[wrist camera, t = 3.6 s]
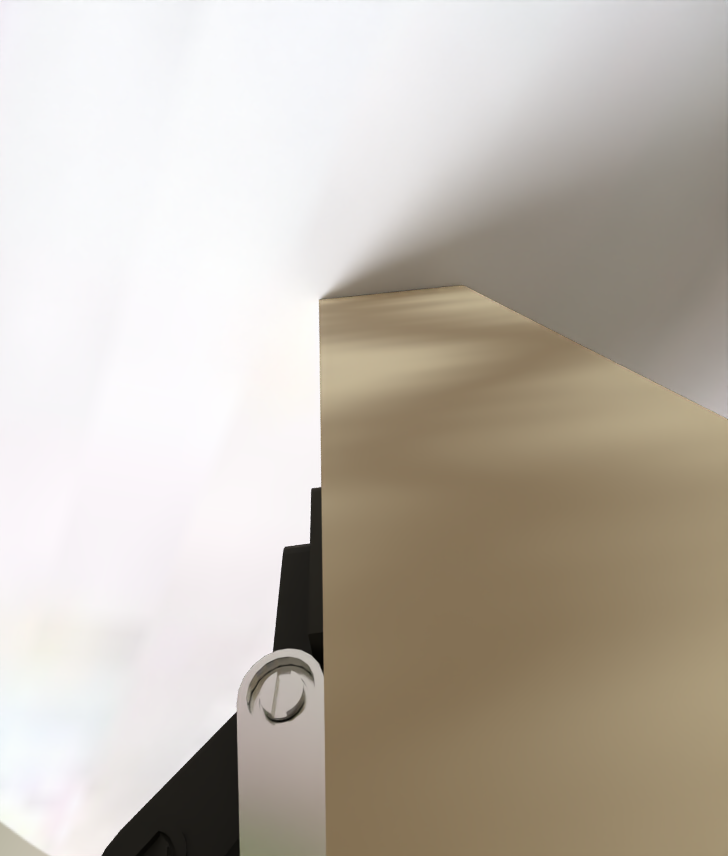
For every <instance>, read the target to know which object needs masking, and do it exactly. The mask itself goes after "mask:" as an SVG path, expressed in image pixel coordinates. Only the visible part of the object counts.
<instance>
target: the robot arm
mask: <svg viewBox="0 0 728 856" xmlns="http://www.w3.org/2000/svg"><path fill="white" fill-rule="evenodd" d="M102 856H326V806H325V727H324V648H323V569H322V490H321V487H319V488H312V489H311V525H310V544H303V545H295V546H287V547H285V548H284V551H283V558H282V568H281V578H280V588H279V598H278V607H277V617H276V627H275V637H274V647H273V652H272V653H270V654H268V655H266V656H264V657H263V658H261V659H260V660H259V661H258V662H256V663H255V664H254V665H253V666H252V667H251V668H250V670H249V671H248V672H247V674H246V675H245V676H244V678H243V681H242V683H241V685H240V687H239V690H238V697H237V712H236V713H235V714H234V715H233V716H232V717H231V718H230V719H229V720H228V721H227V722H226V723H225V724H224V725H223V726H222V727H221V728H220V729H219V730H218V731H217V732H216V733H215V734H214V735H213V736H212V737H211V738H210V740H209V741H208V742H207V743H206V744H205V745H204V746H203V747H202V748H201V749H200V750H199V751H198V752H197V753H196V754H195V755H194V756H193V757H192V758H191V759H190V760H189V761H188V762H187V763H186V764H185V765H184V766H183V767H182V768H181V769H180V770H179V771H178V772H177V773H176V774H175V775H174V776H173V777H172V778H171V779H170V780H169V781H168V782H167V783H166V784H165V785H164V786H163V787H162V789H161V790H160V791H159V792H158V793H157V794H156V795H155V796H154V797H153V798H152V799H151V800H150V801H149V802H148V803H147V804H146V805H145V806H144V807H143V808H142V809H141V810H140V811H139V812H138V813H137V814H136V815H135V816H134V817H133V818H132V819H131V820H130V821H129V822H128V823H127V824H126V825H125V826H124V827H123V828H122V829H121V830H120V832H119V833H118V834H117V835H116V837H115V838H114V839H113V840H112V842H111V843H110V844H109V845H108V846H107V848H106V849H105V851H104V853H103V854H102Z"/></svg>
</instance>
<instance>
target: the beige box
mask: <svg viewBox="0 0 728 856" xmlns="http://www.w3.org/2000/svg"><path fill="white" fill-rule="evenodd" d="M319 332H320V411H321V490H322V569H323V648H324V727H325V806H326V856H728V419H726V418H724V417H722V416H720V415H718V414H716V413H714V412H712V411H710V410H708V409H706V408H704V407H702V406H700V405H698V404H696V403H695V402H693V401H691V400H689V399H687V398H685V397H683V396H681V395H679V394H677V393H675V392H673V391H671V390H669V389H667V388H665V387H663V386H661V385H659V384H657V383H655V382H653V381H651V380H649V379H647V378H645V377H643V376H641V375H639V374H637V373H635V372H633V371H631V370H629V369H627V368H626V367H624V366H622V365H620V364H618V363H616V362H614V361H612V360H610V359H608V358H606V357H604V356H602V355H600V354H598V353H596V352H594V351H592V350H590V349H588V348H586V347H584V346H582V345H580V344H578V343H576V342H574V341H572V340H570V339H568V338H566V337H564V336H562V335H560V334H558V333H557V332H555V331H553V330H551V329H549V328H547V327H545V326H543V325H541V324H539V323H537V322H535V321H533V320H531V319H529V318H527V317H525V316H523V315H521V314H519V313H517V312H515V311H513V310H511V309H509V308H507V307H505V306H503V305H501V304H499V303H497V302H495V301H493V300H491V299H489V298H488V297H486V296H484V295H482V294H480V293H478V292H476V291H474V290H472V289H470V288H468V287H466V286H464V285H458V286H448V287H439V288H429V289H419V290H409V291H400V292H390V293H380V294H371V295H361V296H351V297H341V298H332V299H322V300H319Z"/></svg>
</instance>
